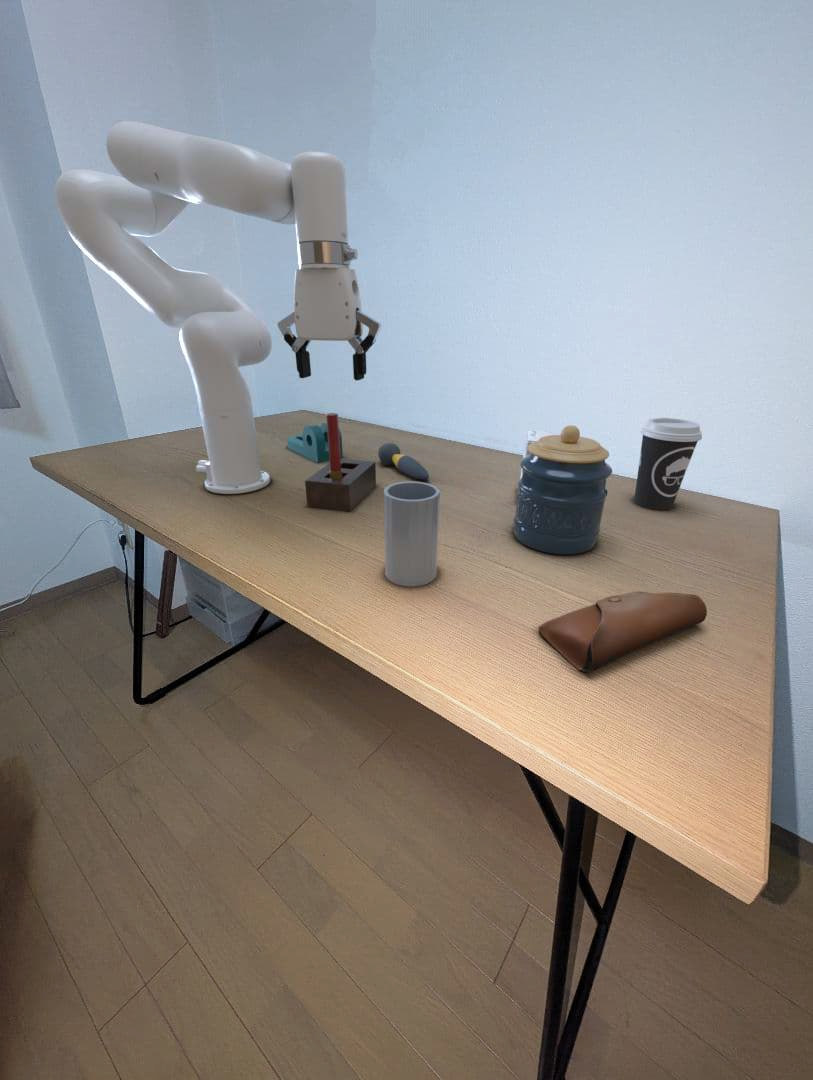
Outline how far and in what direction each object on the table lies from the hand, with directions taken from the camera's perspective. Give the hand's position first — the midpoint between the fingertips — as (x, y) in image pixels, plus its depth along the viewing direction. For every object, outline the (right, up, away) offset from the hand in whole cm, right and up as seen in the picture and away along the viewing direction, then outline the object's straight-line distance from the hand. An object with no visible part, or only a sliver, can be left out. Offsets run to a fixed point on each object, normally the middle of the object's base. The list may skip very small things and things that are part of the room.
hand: (331, 378), depth 78 cm
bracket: (-11, -5, +39) cm, 41 cm away
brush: (0, -20, +10) cm, 22 cm away
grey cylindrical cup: (+13, -31, -14) cm, 37 cm away
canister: (+36, -27, -4) cm, 45 cm away
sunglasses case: (+37, -37, -25) cm, 58 cm away
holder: (0, -18, +12) cm, 22 cm away
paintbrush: (+12, -12, +26) cm, 31 cm away
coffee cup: (+58, -20, +10) cm, 63 cm away
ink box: (+36, -19, +12) cm, 43 cm away
